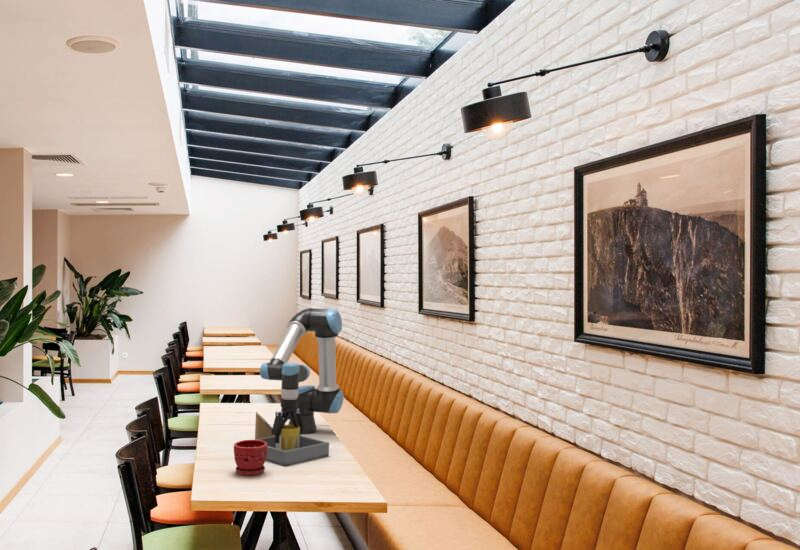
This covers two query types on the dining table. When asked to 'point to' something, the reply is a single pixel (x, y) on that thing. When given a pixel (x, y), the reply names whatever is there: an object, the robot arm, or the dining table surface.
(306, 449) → the crate
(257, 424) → the sandwich container
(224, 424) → the dining table surface
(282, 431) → the plant pot
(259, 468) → the plant pot
